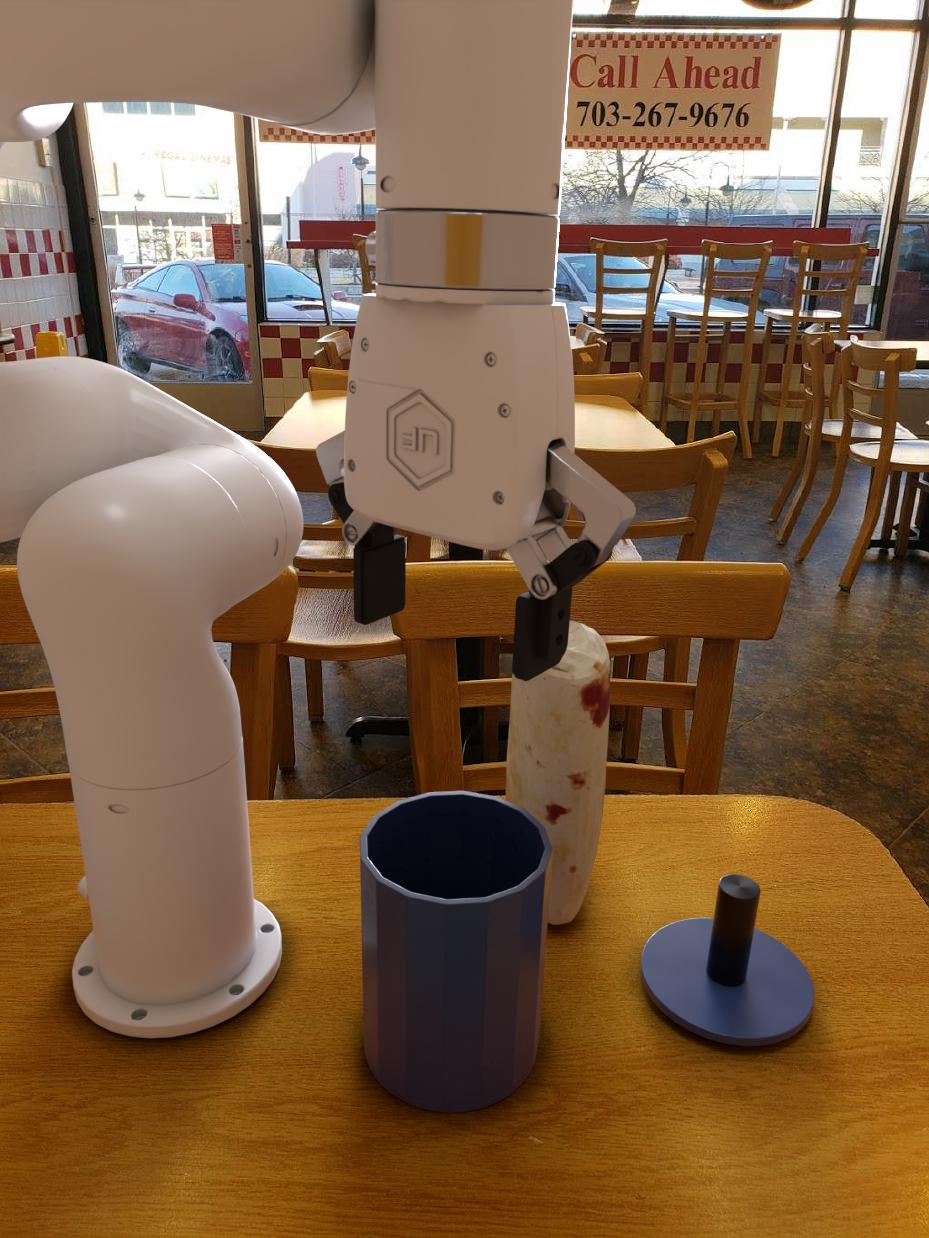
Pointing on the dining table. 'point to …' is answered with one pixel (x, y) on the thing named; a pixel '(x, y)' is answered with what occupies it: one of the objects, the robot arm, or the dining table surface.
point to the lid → (728, 973)
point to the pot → (453, 947)
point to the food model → (563, 761)
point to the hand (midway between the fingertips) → (454, 642)
